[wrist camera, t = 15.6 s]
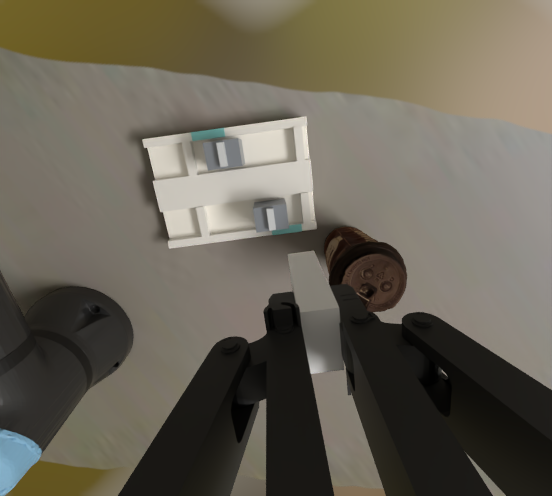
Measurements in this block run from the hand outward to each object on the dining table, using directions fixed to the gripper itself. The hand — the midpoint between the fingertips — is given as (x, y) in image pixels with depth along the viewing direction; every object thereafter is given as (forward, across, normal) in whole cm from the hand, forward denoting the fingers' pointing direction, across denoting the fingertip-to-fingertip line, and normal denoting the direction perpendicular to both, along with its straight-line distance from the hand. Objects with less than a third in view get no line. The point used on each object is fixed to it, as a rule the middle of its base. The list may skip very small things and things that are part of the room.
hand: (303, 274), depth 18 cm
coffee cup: (+27, +8, -8) cm, 29 cm away
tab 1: (+25, -6, +7) cm, 27 cm away
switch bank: (+26, -6, +3) cm, 27 cm away
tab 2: (+25, -2, -1) cm, 25 cm away
